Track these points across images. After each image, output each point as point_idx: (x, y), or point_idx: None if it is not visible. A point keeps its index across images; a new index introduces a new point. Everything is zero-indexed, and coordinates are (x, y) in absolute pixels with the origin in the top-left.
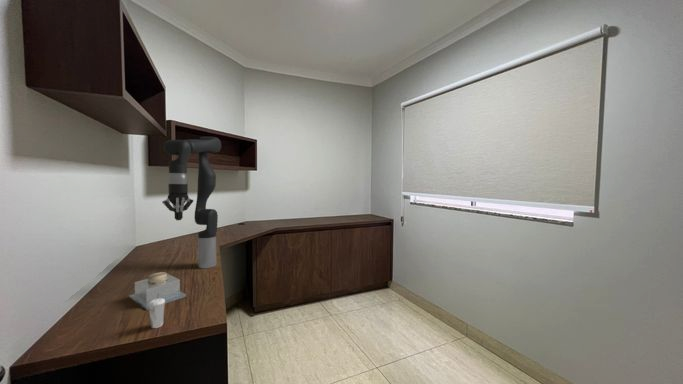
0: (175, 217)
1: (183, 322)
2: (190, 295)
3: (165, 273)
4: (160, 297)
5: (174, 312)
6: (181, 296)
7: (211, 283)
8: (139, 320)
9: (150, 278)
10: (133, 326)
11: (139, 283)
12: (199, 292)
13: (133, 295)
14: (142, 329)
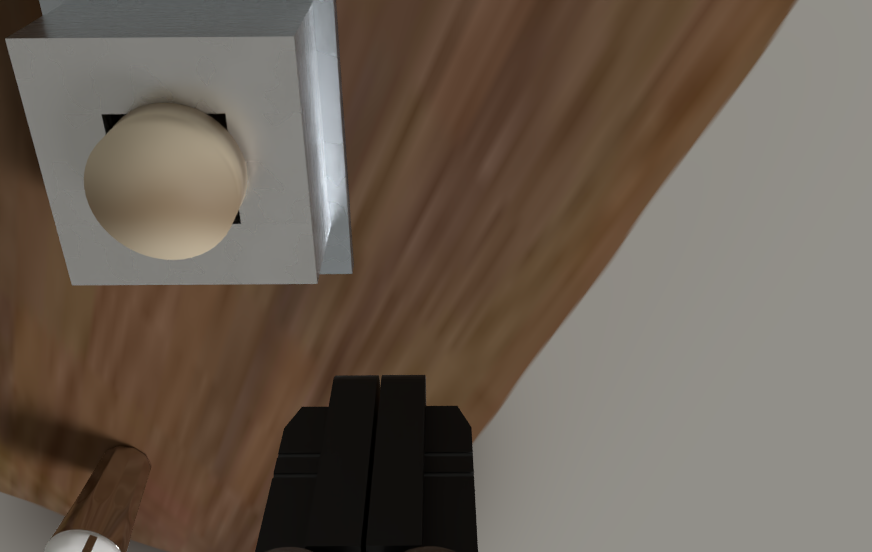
0: (297, 457)
1: (227, 514)
2: (382, 270)
3: (222, 210)
4: None
5: (226, 404)
6: (322, 271)
7: (600, 186)
8: (64, 355)
9: (97, 214)
10: (34, 391)
11: (38, 114)
12: (447, 271)
13: None
14: (67, 445)
